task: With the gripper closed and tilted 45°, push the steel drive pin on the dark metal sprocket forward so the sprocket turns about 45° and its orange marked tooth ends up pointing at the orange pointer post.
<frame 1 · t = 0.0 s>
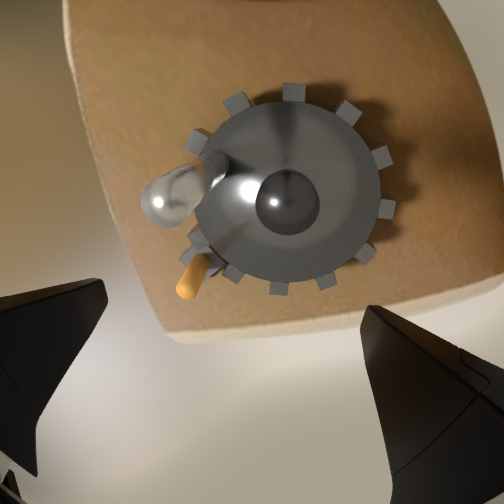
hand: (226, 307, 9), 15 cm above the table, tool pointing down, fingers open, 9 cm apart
sprocket: (288, 215, 16), point 7 cm above the table, hinge at 0.0°
index pointer: (203, 257, 25), on the table
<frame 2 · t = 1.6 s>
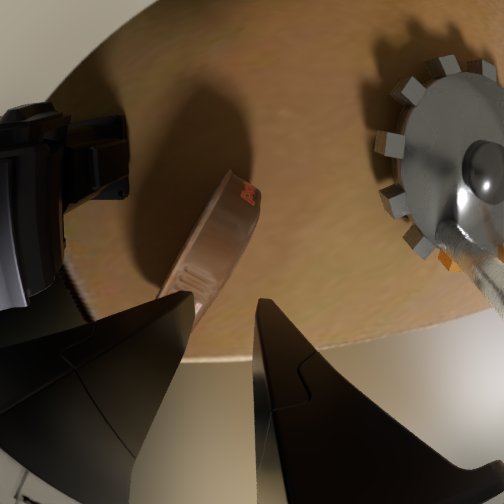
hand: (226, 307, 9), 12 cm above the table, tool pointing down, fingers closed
index pointer: (492, 247, 19), on the table
tin: (203, 250, 22), on the table
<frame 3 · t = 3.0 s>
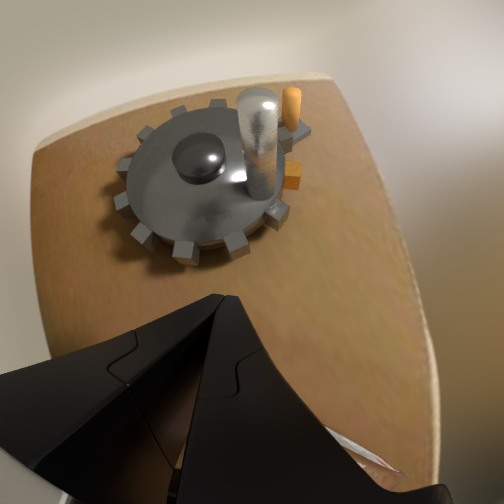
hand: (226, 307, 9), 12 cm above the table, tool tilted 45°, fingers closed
sprocket: (192, 136, 18), point 7 cm above the table, hinge at 0.0°
index pointer: (288, 132, 26), on the table
tin: (299, 424, 18), on the table
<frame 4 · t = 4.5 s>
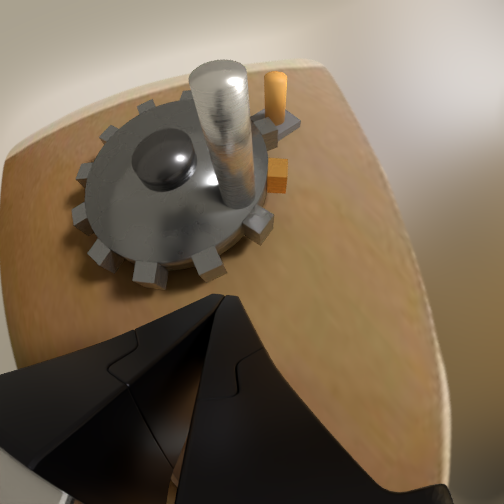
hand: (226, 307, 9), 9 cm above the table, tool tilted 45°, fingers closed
sprocket: (151, 133, 14), point 7 cm above the table, hinge at 0.0°
index pointer: (274, 125, 22), on the table
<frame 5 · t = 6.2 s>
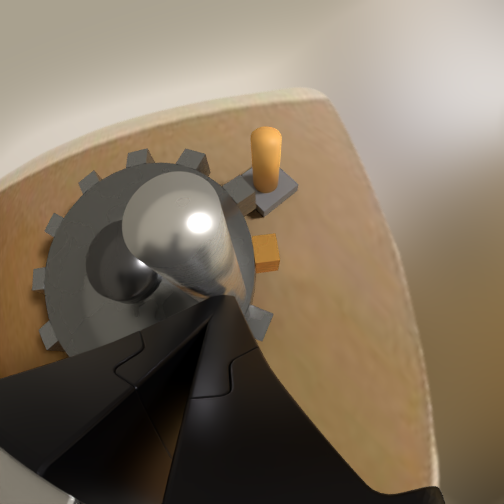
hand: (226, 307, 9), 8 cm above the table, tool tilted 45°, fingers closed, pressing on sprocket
sprocket: (99, 245, 11), point 7 cm above the table, hinge at 11.4°, touching gripper
index pointer: (265, 188, 19), on the table
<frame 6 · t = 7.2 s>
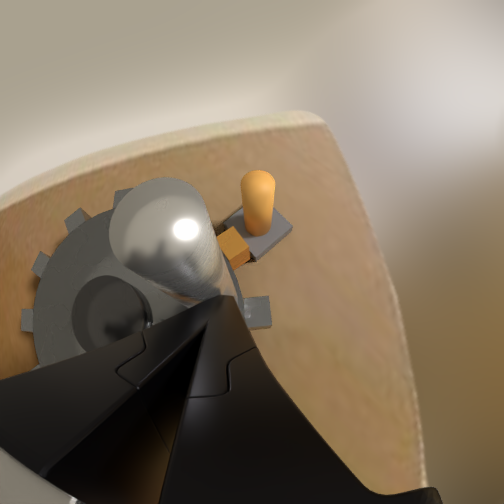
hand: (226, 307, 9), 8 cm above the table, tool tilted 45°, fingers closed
sprocket: (82, 310, 10), point 7 cm above the table, hinge at 39.2°, touching gripper
index pointer: (257, 229, 18), on the table
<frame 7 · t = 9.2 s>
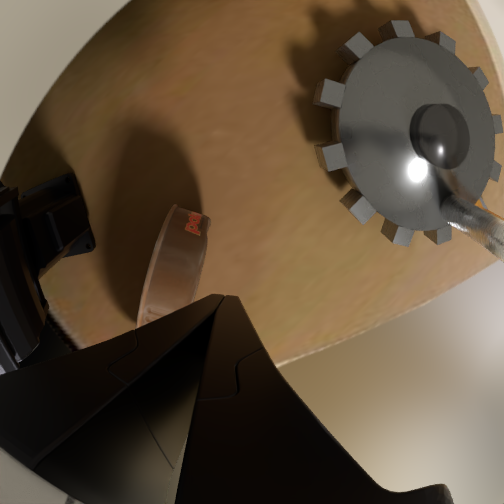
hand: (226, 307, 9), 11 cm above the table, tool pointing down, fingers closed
sprocket: (467, 140, 11), point 7 cm above the table, hinge at 39.3°
tin: (177, 283, 22), on the table
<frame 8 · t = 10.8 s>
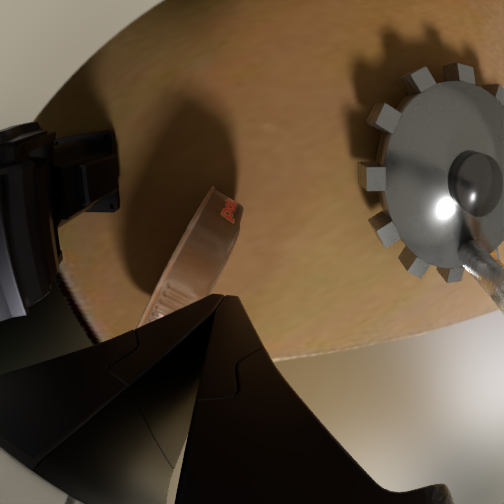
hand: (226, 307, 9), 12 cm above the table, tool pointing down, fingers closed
sprocket: (500, 195, 11), point 7 cm above the table, hinge at 39.3°
tin: (192, 261, 23), on the table
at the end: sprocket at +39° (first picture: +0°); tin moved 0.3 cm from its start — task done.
